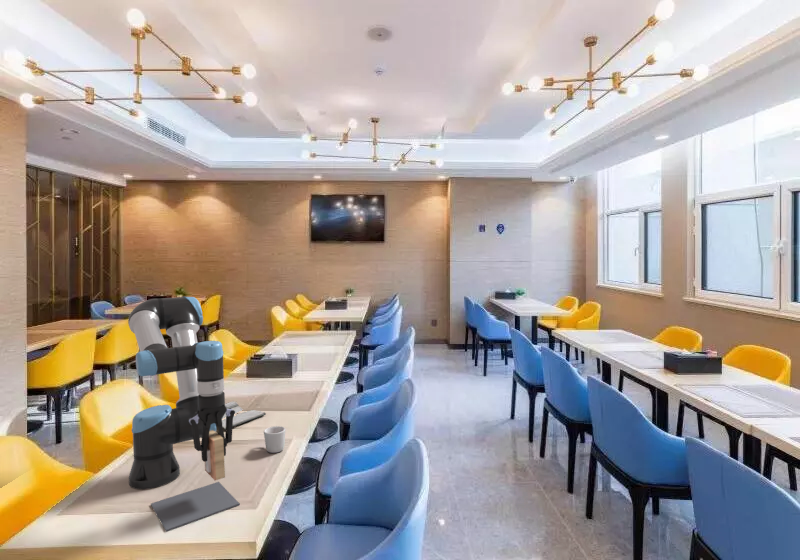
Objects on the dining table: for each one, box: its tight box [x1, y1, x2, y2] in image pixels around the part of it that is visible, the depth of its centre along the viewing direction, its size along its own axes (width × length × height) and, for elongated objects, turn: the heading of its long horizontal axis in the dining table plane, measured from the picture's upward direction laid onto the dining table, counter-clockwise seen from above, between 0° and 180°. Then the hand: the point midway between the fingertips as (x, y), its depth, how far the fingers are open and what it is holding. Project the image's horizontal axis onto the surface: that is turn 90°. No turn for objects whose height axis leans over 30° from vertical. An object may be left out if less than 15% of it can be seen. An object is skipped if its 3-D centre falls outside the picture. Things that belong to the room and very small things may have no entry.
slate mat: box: [150, 481, 241, 533], centre depth 139 cm, size 18×20×1 cm
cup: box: [263, 425, 286, 454], centre depth 178 cm, size 11×8×8 cm
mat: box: [222, 400, 267, 431], centre depth 212 cm, size 23×24×5 cm
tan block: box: [204, 430, 226, 481], centre depth 142 cm, size 9×3×12 cm, turn 40°
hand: (214, 468), depth 142 cm, fingers closed on tan block, 3 cm apart
